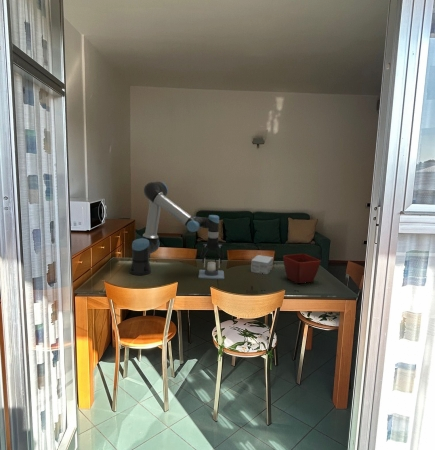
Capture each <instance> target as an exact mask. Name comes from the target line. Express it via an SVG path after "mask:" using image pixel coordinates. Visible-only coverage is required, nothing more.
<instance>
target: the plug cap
mask: <svg viewBox="0 0 435 450" xmlns="http://www.w3.org/2000/svg"><path fill="white" fill-rule="evenodd" d="M206 266H207V267H206V269H207V271H208V272H216V269H217V267H216V266H217V262H215V261H208V262H207V264H206Z"/></svg>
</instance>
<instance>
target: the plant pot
mask: <svg viewBox="0 0 435 450" xmlns="http://www.w3.org/2000/svg"><path fill="white" fill-rule="evenodd" d="M282 259H283V265H284V270H285V273H286V277H287V279H288V280H289V279H290V280H289V281H291V280H292V281H291V282H293V281H294V282H293V283H295V282H296V283H295V284H297V283H304V284H306V283H305V282H311V283H313V281H314V280H315V278H316V276H317V273H318V272H319V268H320V265H321V262H322V261H321V259H318V258H316V257H314V256H311V255H308V254H306V253H297V254H287V255H283V257H282Z"/></svg>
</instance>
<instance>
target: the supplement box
mask: <svg viewBox="0 0 435 450" xmlns="http://www.w3.org/2000/svg"><path fill="white" fill-rule="evenodd" d="M250 261H251V262H250V272H251V273H257V274H262V273H263V274H262V275H268V274H269V273H270V270H273V266H274V257H273V256H267V255H260V254H258V255H256V256H254V257H253V258H252V259H251V260H250Z"/></svg>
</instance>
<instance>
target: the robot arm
mask: <svg viewBox="0 0 435 450" xmlns="http://www.w3.org/2000/svg"><path fill="white" fill-rule="evenodd" d="M143 193H144V196H145V197H146V198H147V200H148V201H149V204H148V211H147V218H146V224H145V225H146V226H145V232H144V233H143V234H142V236H141V237H142V238H137V239H134V240H133V241H132V243H131V255H132V256H131V259H132V260H131V263H130V267H129V274H131V275H134V276H146V275H149V274H151V273H152V267H151V263H150V255H151V254H153V253H155V252H156V251H157V250H158V249H159V248H160V240H159V235H158V229H159V224H160V223H159V221H160V216H161V210H162V209H163V210H164V211H166V212H167V213H168V214H170V215H171V216H173V217H174V218H175V219H176V220H177V221H179V222H180V223H181V224H183V225H184V226H185V227H186V229H187V230H188V231H189V232H191V233H194V232H197V231H199V230H200V229H207V243H203V244H202V250H201V252H200V255H199V257H200V258H201V259H202V260H201V262H202V264H203V268H204V269H205V268H206V256H207V254H208V253H209V251H215V252H216V254H217V256H218V269H220V268H221V267H220V266H221V265H220V264H222V261H223V259H225V254H224V250H223V245H222V244H219V235H220V234H219V231H220V229H219V228H220V216H219V215H216V214H209V215H208V217H200V216H192V214H190V213H188V212H187V211H186V210H184V209H183V208H181V207H180V205H178V204H176V203H175V202H174V201H172V200H171V199H170V198H169V197H167V194H168V193H169V192H168V186H167V184H166V183H165V182H163V181H158V180H157V181H153V182H152V181H150V182H148V183H146V184H145V185H144V187H143ZM206 247H207V249H205V248H206ZM218 247H219V249H220V252H221V253H220V252H219V250H218ZM205 250H206V251H205ZM204 252H205V253H204Z"/></svg>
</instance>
